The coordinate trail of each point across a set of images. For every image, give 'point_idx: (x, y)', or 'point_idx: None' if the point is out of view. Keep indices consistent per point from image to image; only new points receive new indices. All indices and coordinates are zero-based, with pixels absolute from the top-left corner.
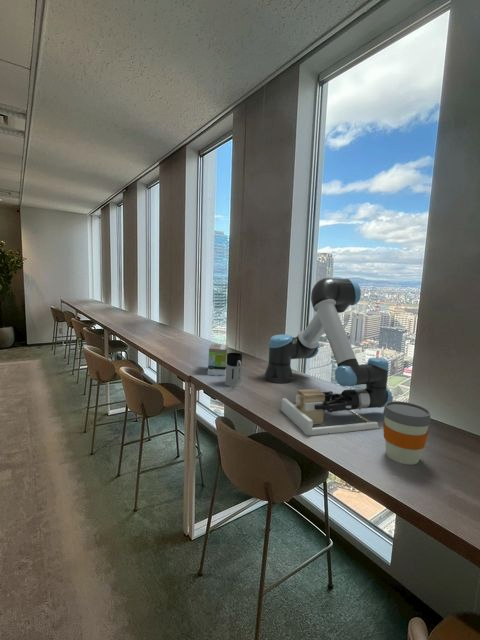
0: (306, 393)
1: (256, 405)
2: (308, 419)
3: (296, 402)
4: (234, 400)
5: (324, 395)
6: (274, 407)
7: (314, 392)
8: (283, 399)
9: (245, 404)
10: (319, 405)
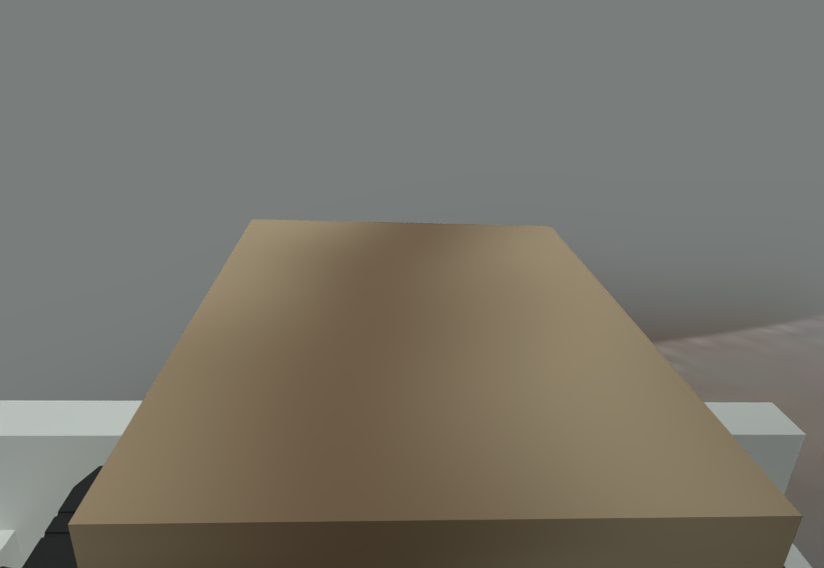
0: (349, 246)
1: (776, 394)
2: (18, 414)
3: None
4: (815, 321)
5: (91, 541)
6: (798, 500)
7: (380, 342)
8: (726, 403)
9: (762, 349)
10: (68, 530)
